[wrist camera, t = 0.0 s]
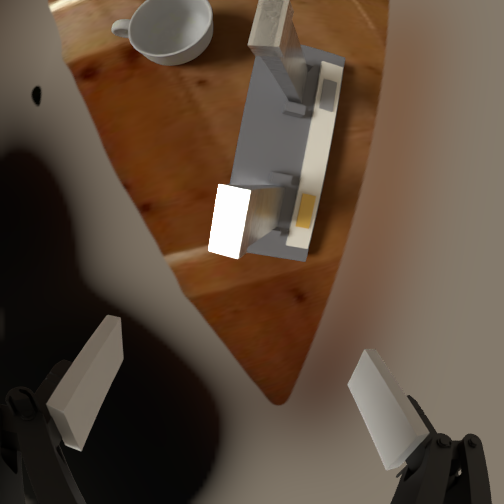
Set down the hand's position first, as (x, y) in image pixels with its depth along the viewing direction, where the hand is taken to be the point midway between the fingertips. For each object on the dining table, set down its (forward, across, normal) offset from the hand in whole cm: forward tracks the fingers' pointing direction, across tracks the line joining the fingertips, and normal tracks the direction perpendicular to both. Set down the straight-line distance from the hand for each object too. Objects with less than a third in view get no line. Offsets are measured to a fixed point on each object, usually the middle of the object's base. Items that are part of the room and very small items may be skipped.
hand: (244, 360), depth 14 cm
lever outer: (+24, +4, +5) cm, 24 cm away
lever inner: (+24, +4, +21) cm, 32 cm away
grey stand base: (+28, +4, +13) cm, 31 cm away
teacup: (+28, -15, +27) cm, 42 cm away
